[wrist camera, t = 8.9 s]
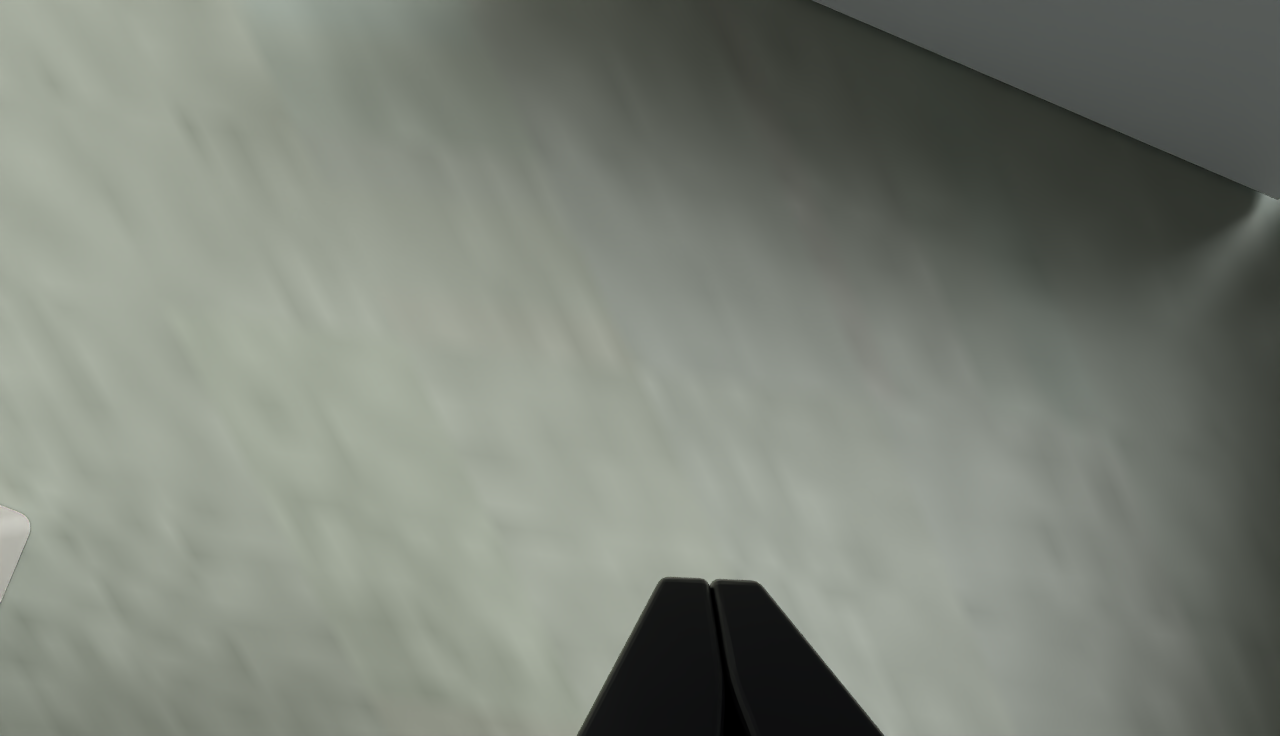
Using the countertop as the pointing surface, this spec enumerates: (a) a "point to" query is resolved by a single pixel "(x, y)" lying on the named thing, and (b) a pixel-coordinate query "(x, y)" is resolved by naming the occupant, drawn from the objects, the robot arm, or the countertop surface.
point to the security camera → (11, 543)
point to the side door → (1123, 66)
